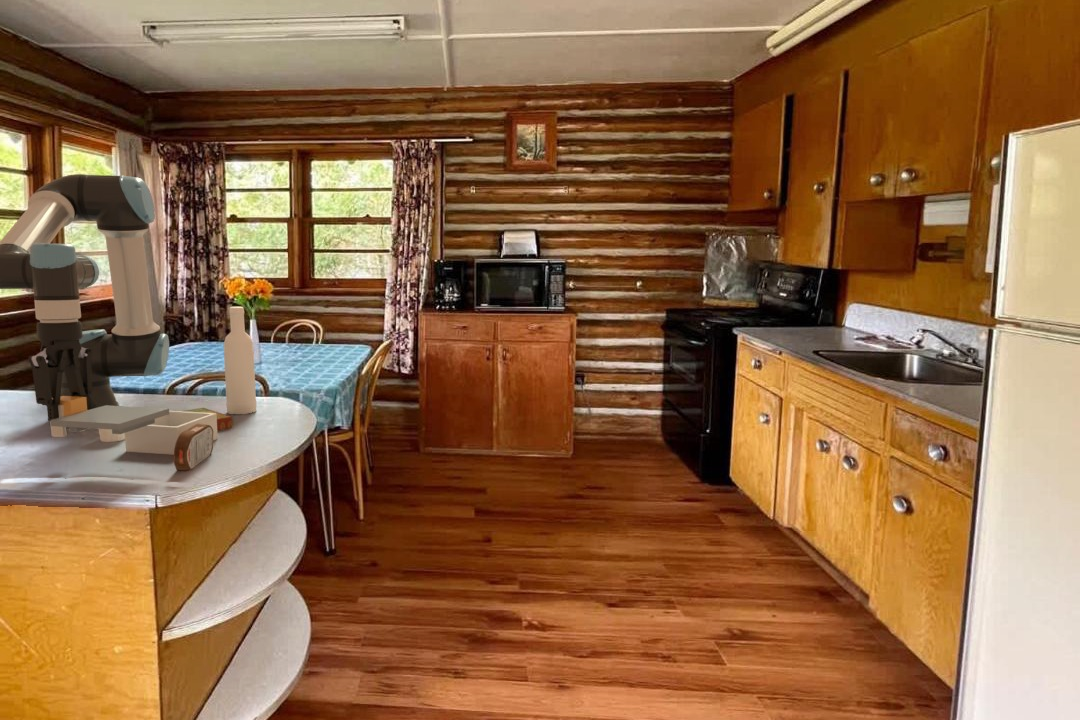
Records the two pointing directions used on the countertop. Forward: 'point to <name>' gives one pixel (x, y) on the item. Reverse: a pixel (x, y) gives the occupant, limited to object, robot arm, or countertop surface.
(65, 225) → the robot arm
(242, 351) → the bottle
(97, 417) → the lid
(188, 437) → the tin
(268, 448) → the countertop surface
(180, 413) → the tub
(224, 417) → the carton
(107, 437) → the cream cylindrical piece
